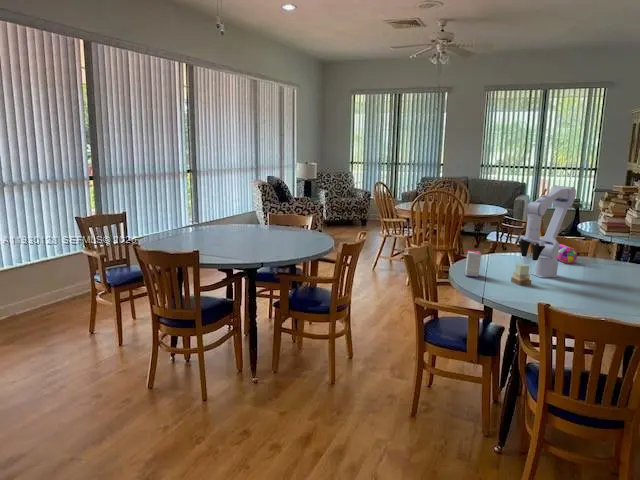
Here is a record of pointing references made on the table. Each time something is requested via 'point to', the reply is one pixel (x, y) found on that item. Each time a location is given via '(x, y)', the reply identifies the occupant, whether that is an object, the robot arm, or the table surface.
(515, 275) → the tower mid
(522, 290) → the table surface
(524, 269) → the top block
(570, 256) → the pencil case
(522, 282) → the tower base
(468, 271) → the supplement box
